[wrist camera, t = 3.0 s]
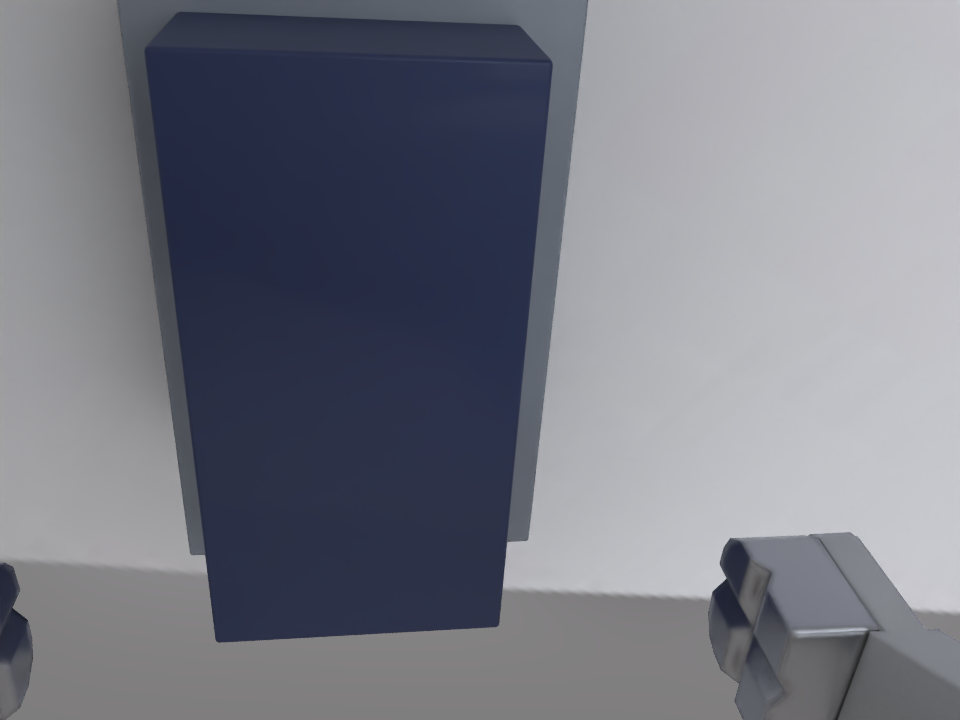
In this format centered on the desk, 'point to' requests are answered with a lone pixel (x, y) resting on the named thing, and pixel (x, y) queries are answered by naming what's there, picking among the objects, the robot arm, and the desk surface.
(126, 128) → the desk surface
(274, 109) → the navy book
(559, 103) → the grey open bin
